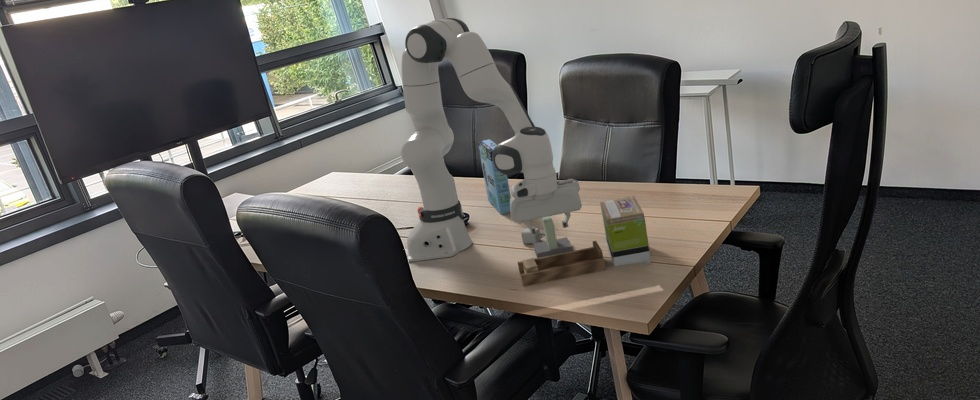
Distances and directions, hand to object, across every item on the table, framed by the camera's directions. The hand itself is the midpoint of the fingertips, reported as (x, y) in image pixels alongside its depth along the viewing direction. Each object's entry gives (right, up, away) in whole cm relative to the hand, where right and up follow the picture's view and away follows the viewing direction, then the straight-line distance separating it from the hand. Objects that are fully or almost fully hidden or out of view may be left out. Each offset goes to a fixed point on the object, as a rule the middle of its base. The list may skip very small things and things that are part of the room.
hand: (549, 230), depth 213 cm
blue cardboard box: (-13, +6, +56) cm, 58 cm away
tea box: (+21, -7, -9) cm, 24 cm away
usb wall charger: (-3, -4, +15) cm, 16 cm away
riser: (+1, -7, +2) cm, 8 cm away
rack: (+2, -11, -12) cm, 17 cm away
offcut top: (-6, -10, -13) cm, 18 cm away
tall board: (+1, -4, +1) cm, 5 cm away
